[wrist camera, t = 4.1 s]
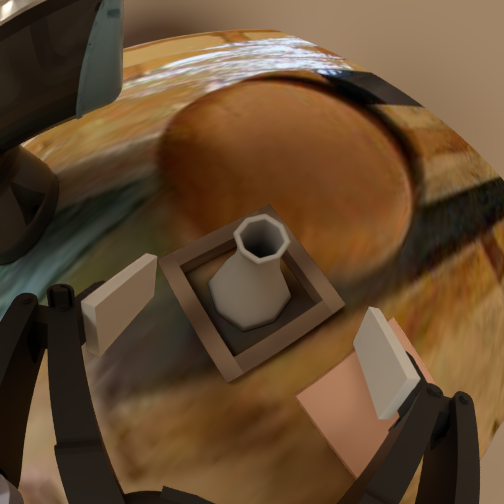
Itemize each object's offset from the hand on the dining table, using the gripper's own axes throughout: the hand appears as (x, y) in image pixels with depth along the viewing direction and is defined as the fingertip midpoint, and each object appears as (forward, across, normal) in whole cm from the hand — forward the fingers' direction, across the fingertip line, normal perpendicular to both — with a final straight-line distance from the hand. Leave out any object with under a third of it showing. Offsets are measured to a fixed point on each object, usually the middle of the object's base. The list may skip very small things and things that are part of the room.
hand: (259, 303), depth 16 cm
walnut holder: (+8, -1, -4) cm, 9 cm away
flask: (+9, -1, -4) cm, 9 cm away
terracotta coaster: (+2, +13, -9) cm, 17 cm away
